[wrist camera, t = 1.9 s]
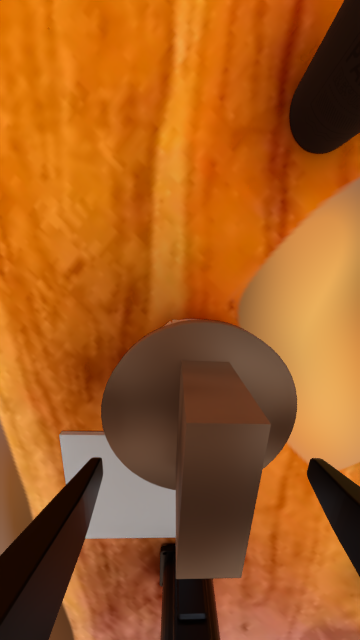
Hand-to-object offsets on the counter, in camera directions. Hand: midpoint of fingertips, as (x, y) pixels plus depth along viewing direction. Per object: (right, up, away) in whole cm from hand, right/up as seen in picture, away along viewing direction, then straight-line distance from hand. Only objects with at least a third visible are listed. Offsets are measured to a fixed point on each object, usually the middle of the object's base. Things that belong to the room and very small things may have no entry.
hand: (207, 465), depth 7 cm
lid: (0, +1, +3) cm, 3 cm away
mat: (-6, -12, +11) cm, 17 cm away
